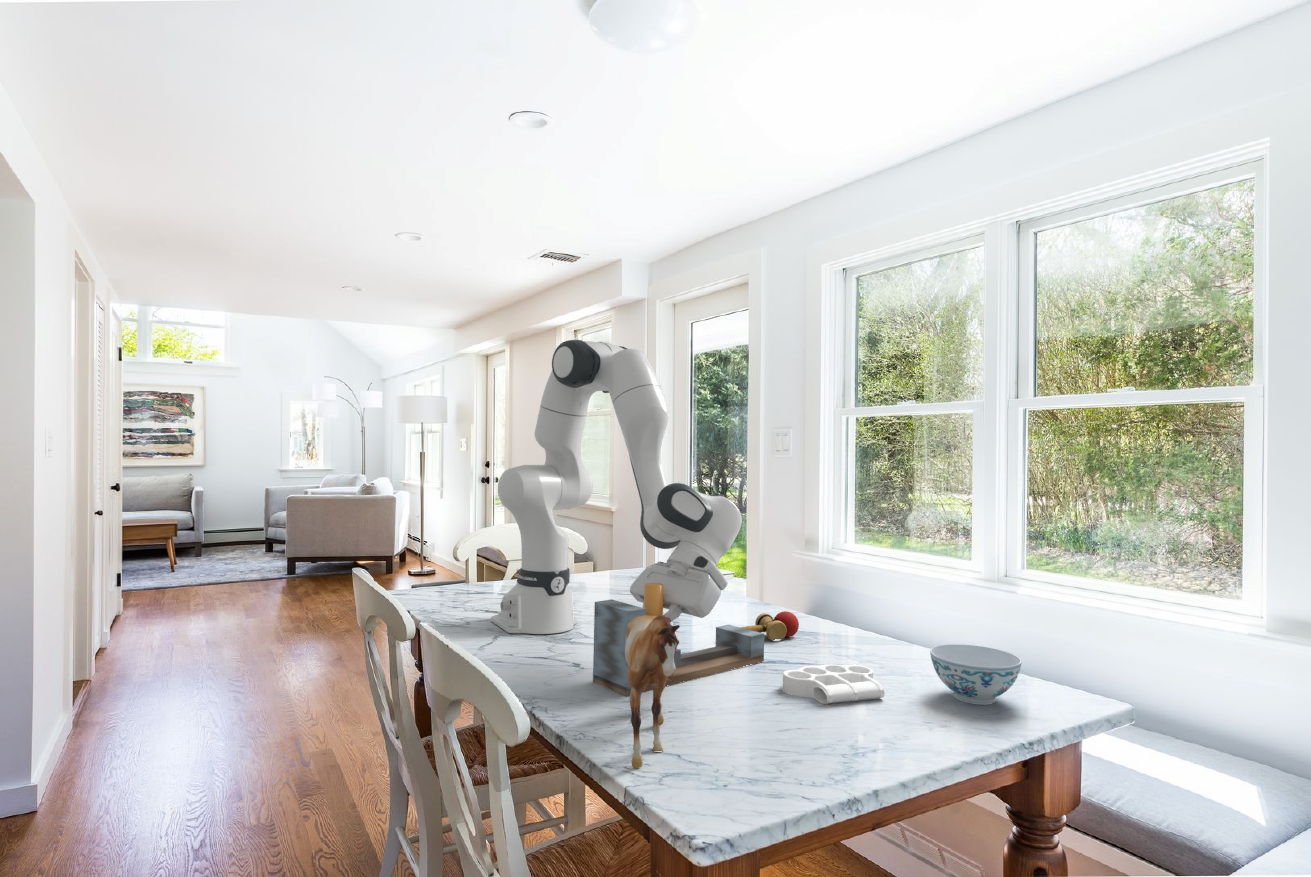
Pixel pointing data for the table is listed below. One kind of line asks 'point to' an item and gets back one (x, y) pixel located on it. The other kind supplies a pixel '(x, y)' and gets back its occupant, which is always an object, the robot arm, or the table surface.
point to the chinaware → (975, 671)
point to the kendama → (776, 625)
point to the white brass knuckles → (833, 683)
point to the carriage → (656, 606)
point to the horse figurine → (649, 670)
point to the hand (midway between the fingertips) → (650, 624)
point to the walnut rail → (728, 654)
